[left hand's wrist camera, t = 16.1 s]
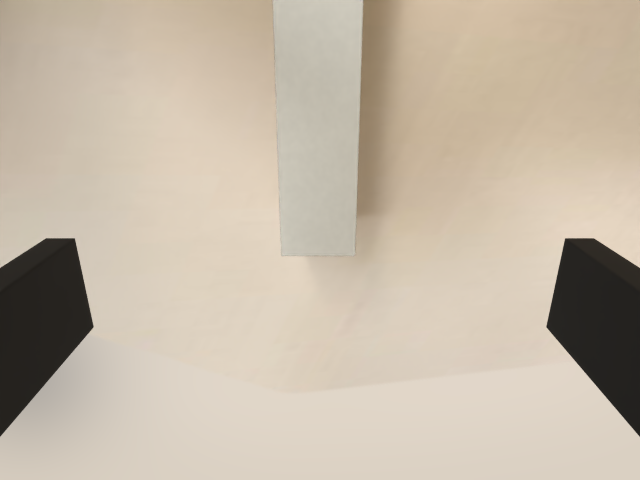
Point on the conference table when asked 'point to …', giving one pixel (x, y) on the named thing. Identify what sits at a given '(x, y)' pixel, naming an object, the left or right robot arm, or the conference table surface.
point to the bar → (318, 123)
